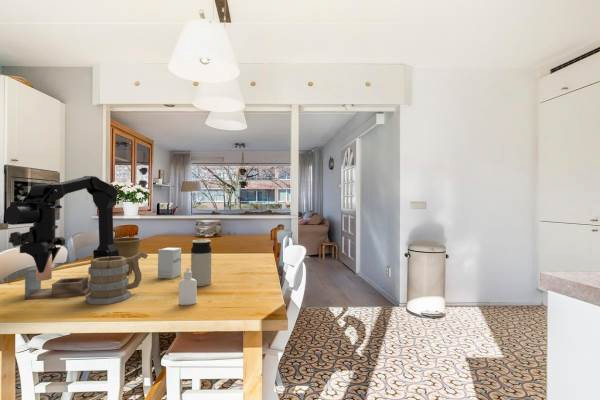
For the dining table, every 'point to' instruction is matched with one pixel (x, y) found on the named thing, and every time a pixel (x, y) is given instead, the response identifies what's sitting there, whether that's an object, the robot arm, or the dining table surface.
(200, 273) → the travel mug
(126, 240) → the plant pot
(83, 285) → the socket block
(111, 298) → the tankard
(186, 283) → the eye dropper bottle
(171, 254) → the supplement box
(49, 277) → the peg
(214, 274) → the dining table surface
